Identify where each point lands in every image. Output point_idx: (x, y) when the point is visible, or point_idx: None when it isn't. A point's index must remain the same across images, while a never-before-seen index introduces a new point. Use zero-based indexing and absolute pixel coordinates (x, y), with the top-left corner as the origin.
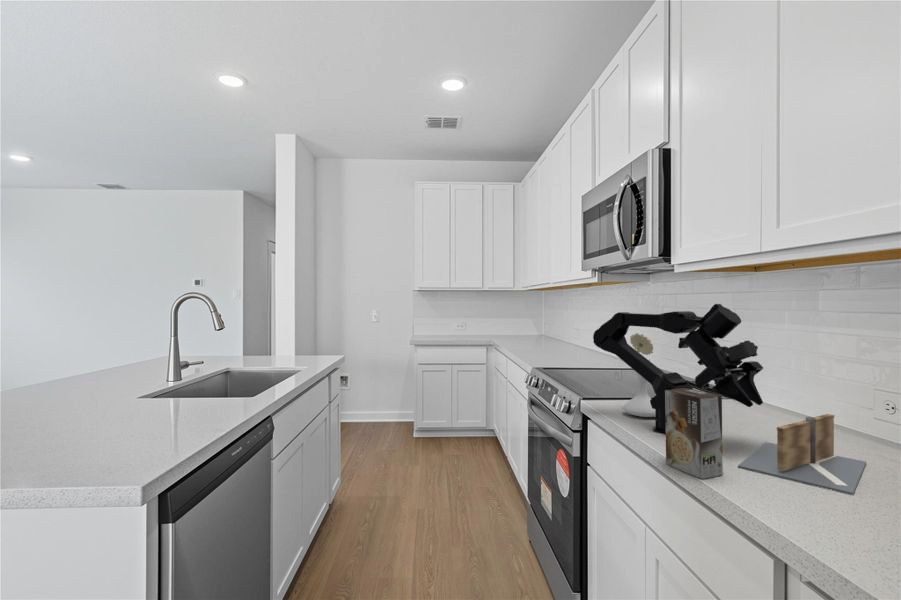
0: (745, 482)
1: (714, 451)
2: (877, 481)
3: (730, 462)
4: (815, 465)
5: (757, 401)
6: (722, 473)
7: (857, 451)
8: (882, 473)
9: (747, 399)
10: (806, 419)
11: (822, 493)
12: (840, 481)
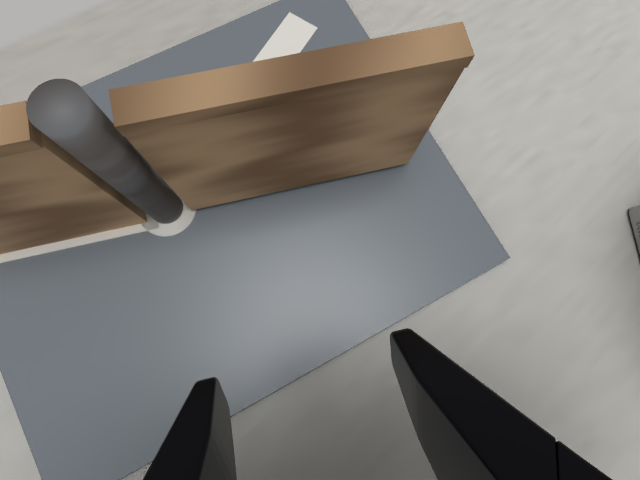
0: (590, 139)
1: None
2: (119, 33)
3: (490, 317)
4: None
5: (225, 428)
6: (634, 207)
7: None
8: (5, 75)
9: (452, 368)
10: (90, 122)
11: (411, 16)
12: (274, 42)
